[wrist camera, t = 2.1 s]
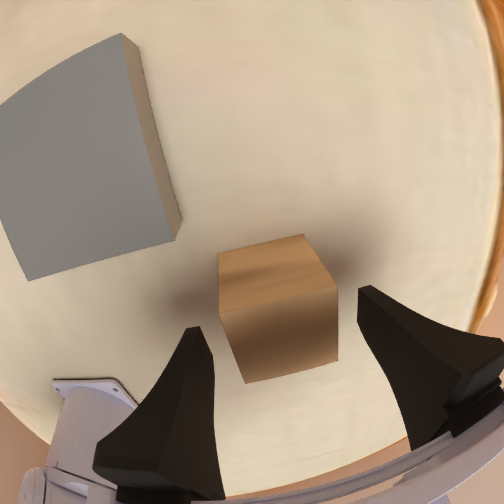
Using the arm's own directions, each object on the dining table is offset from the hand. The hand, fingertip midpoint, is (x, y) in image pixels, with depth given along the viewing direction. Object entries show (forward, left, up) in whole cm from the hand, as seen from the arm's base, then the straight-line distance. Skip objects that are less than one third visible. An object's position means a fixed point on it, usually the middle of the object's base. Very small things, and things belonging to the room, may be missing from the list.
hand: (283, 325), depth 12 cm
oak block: (0, 0, -4) cm, 4 cm away
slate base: (+9, +8, -4) cm, 13 cm away
